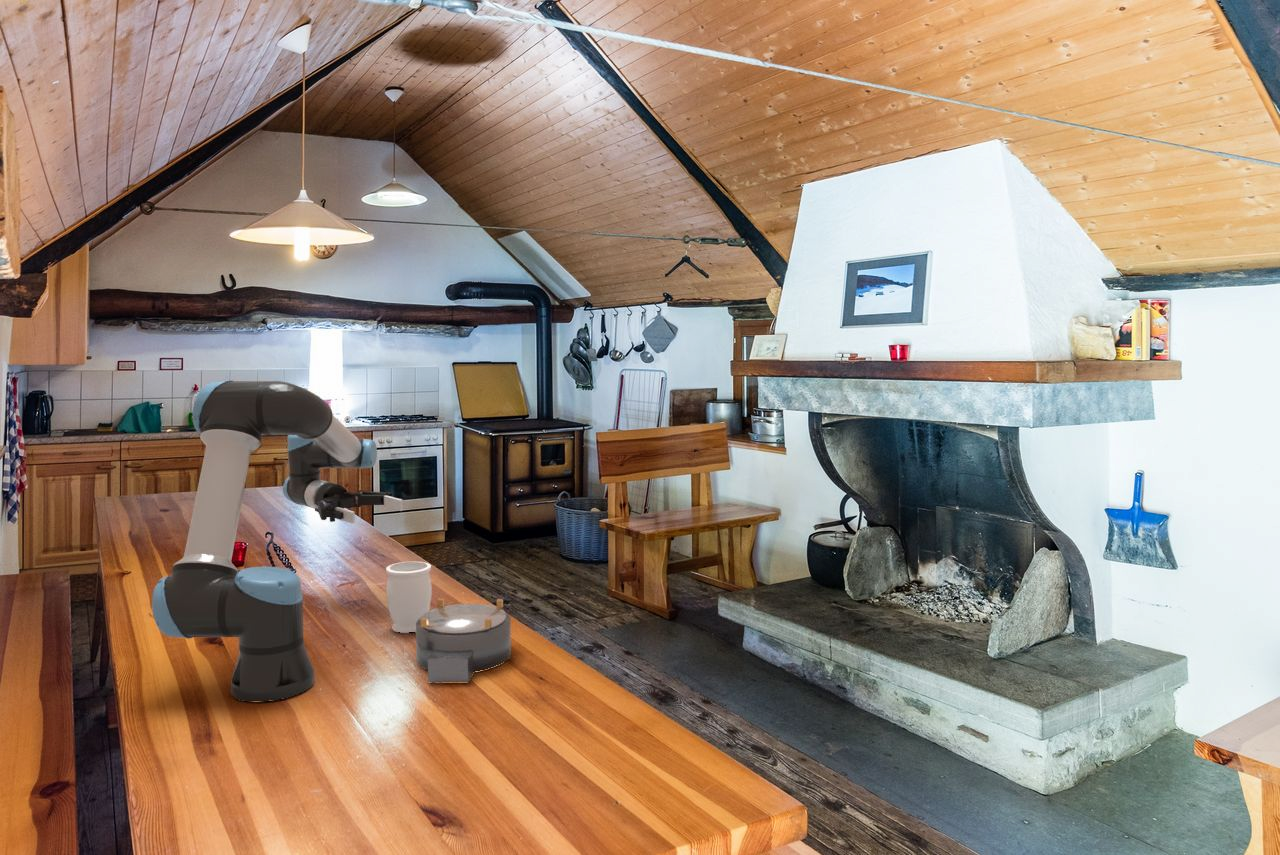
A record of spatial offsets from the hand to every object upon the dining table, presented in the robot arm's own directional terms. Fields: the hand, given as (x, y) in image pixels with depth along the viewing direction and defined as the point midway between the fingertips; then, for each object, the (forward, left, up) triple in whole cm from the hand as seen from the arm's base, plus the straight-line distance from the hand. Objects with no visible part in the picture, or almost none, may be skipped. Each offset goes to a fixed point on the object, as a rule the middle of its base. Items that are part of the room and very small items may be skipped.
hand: (378, 511), depth 201 cm
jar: (-4, -8, -28) cm, 29 cm away
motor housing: (-24, -25, -27) cm, 44 cm away
